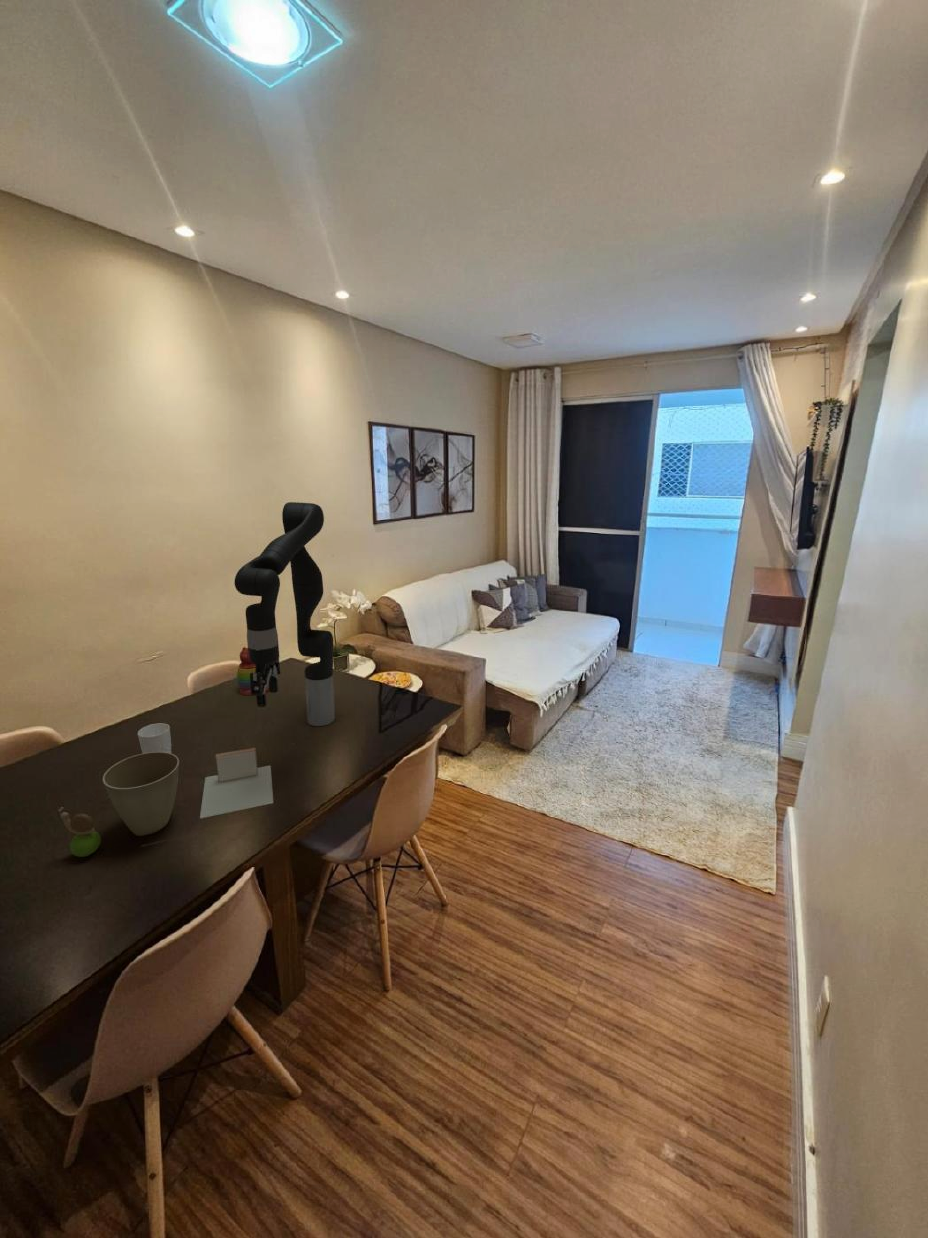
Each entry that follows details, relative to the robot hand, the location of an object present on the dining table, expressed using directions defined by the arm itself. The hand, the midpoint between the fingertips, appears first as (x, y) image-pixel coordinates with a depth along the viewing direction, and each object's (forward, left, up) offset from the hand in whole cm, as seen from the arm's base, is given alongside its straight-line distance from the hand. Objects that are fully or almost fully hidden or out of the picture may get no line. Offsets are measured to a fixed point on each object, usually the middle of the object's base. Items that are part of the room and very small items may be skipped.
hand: (268, 699), depth 131 cm
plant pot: (+12, -28, -24) cm, 39 cm away
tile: (-1, -9, -24) cm, 25 cm away
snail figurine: (+17, -40, -24) cm, 50 cm away
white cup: (-19, -31, -24) cm, 44 cm away
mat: (+5, -9, -24) cm, 26 cm away
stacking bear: (-61, -5, -24) cm, 66 cm away
